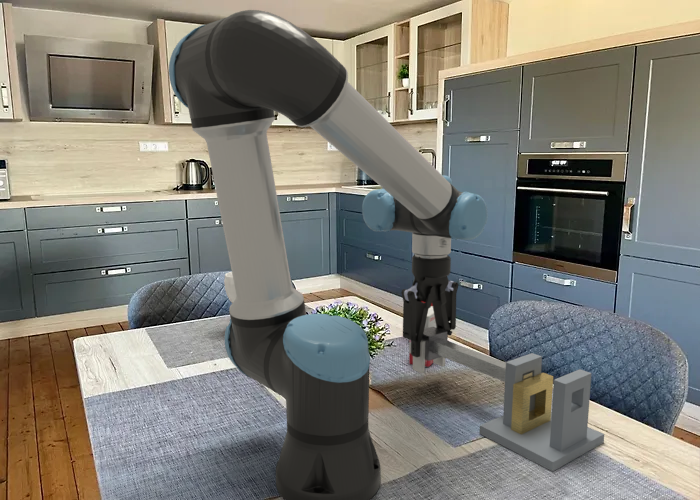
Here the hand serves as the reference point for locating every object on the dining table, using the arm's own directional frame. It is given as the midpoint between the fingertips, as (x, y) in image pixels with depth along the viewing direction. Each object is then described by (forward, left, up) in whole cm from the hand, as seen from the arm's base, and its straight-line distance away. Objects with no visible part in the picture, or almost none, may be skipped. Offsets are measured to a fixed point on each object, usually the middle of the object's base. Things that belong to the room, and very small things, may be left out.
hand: (429, 367), depth 113 cm
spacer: (0, -24, -2) cm, 25 cm away
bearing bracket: (0, -26, -4) cm, 27 cm away
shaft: (0, -11, +3) cm, 11 cm away
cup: (-16, +53, -4) cm, 55 cm away
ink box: (+9, +11, -4) cm, 14 cm away
